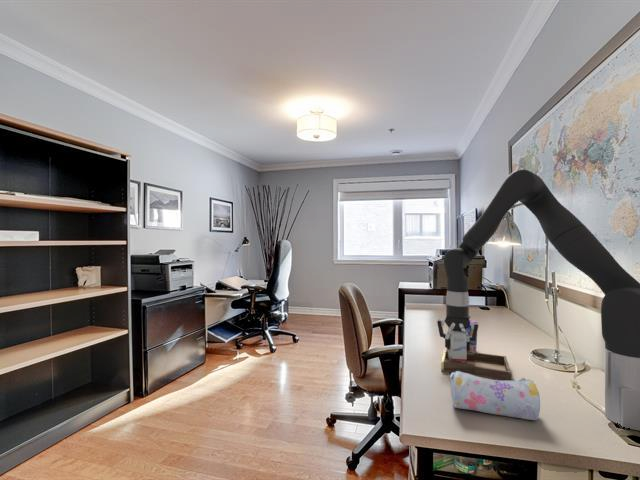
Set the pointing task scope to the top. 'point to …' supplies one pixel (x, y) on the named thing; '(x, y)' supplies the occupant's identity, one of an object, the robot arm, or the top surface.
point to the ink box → (457, 346)
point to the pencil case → (495, 396)
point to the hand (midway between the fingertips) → (457, 350)
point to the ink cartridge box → (469, 330)
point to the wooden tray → (479, 365)
